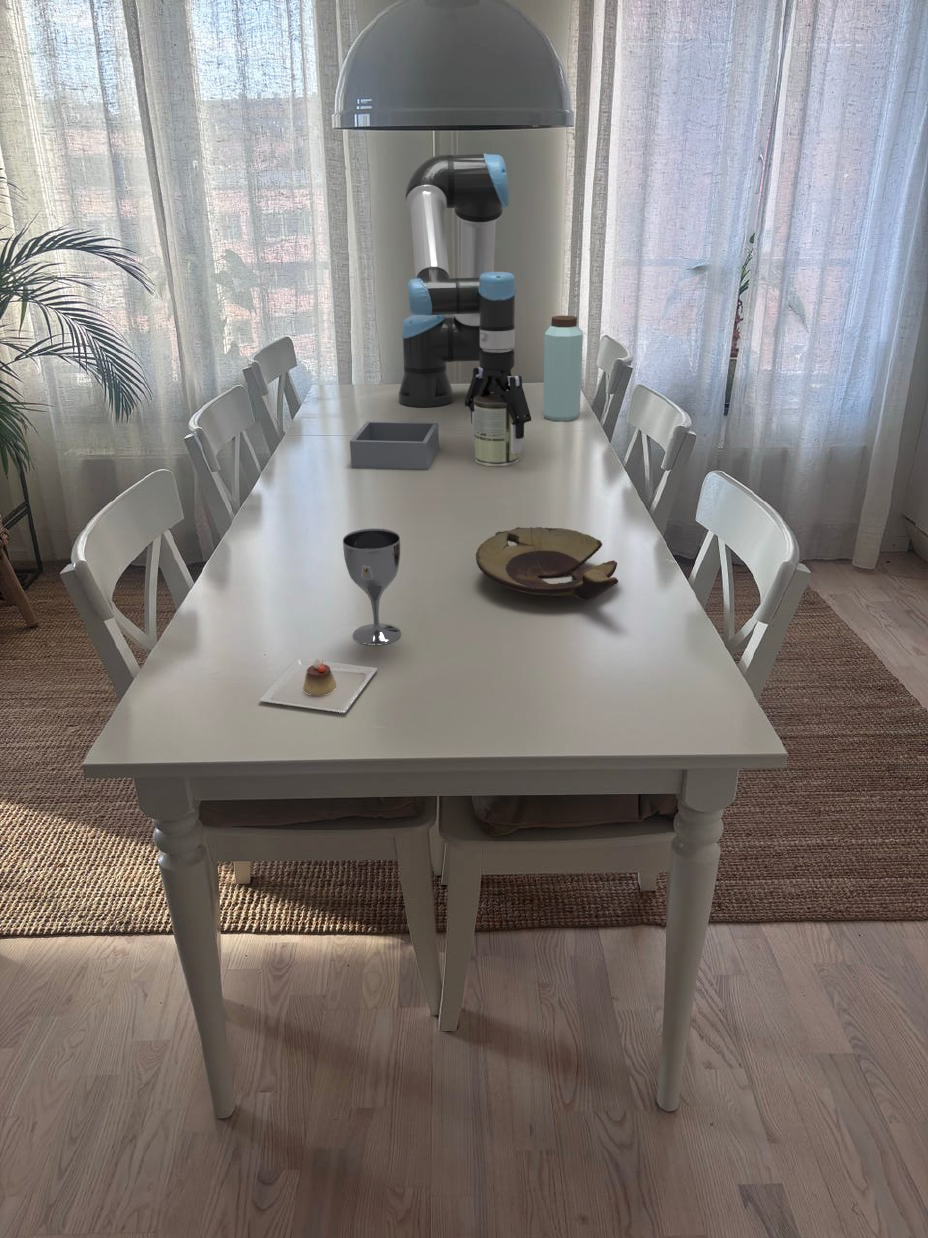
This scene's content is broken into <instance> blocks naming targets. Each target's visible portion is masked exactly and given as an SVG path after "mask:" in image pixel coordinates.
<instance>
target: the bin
mask: <svg viewBox="0 0 928 1238" xmlns="http://www.w3.org/2000/svg"><path fill="white" fill-rule="evenodd" d="M439 434H440V433H439V422H422V421H421V422H420V421H419V422H418V421H415V422H414V421H371V420H370V421H369V420H366V421H365V422H364V423H363V425H362V426H361V428H360V429H358V431H357V432H356V433H355V435H354V436H353V437H352V438H351V439H350V440H349V451H350V463H351V465H350V466H351V469H380V470H381V469H385V470H387V469H388V470H420V471H422V470H424V471H425V470H428V469H429V467H430V465H431V463H432V462H433V460H434V458H435V456H436V455H437V452H438V450H440V449H439V448H440V440H439V439H440V438H439V437H440V435H439Z"/></svg>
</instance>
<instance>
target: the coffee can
mask: <svg viewBox="0 0 928 1238" xmlns="http://www.w3.org/2000/svg"><path fill="white" fill-rule="evenodd" d="M473 401H474V430H475V441H474V461H475V463H476V464H479V465H481V466H486V467H496V466H498V467H507V466H508V465H509V466H512V464H513V465H516V464H517V463H519V462H520V460H521V458H520V452H518V453H514V454H512V453H511V424H512V423H513V420H512V417H511V415H510V413H509V411H508V409H507V403H504V400H503V398H501V397H500V396H499V394H495V393H494V392H491V393H490V394H489V395H486V396H480V395H478V396H475V397H474V398H473ZM517 418H518V416H517Z"/></svg>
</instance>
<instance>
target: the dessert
mask: <svg viewBox="0 0 928 1238" xmlns="http://www.w3.org/2000/svg"><path fill="white" fill-rule="evenodd" d="M301 665H305V666H310V667H307V669H306V672H305V678H304V682H303V686H302V690H303V689H304V691H305V692H306V693H308V694H311V695H317V696H316V697H321V696H320V695H324V696H326V695H325V694H328V693H330V692H332V691H333V690H334V689H335V688H336V684H337V681H336V680H335V677H334V674H333V671H332V670H331V669H330V668H332V669H333V668H337V669H340V668H342V669H349V670H351V669H352V670H354V669H357V670H360V669H362V670H365V671H368V670H370V671H372V672H371V673H370V674H369V675H368V676H367V679H366V680H365V682H363V684H362V685H361V686H360V687H359V689H358V690H357V691H356V692H355V693H354V695H353V696H352V697H351V698H350V699H349V698H348V699H349V701H348V702H347V703H346V702H345V703H346V704H345V703H344V704H345V706H344V707H343V706H342V707H343V708H344V709H343V710H340V709H335V710H334V708H326V707H319V706H312V705H305V704H298V703H292V702H290V703H289V702H285V703H284V702H283V701H276V700H273V701H271V700H270V698H271V697H272V695H273V694H274V693H275V690H276V691H277V690H278V687H279V686H281V683H283V682H284V681H283V680H285V679H286V678H289V677H290V675H292V674H293V672H295V670H296V669H297V668H298V667H299V666H301ZM377 670H378V667H371V666H366V665H365V666H364V665H357V664H348V663H340V662H332V661H326V660H323V659H321V658H316V659H310V658H308V659H307V658H301V657H296V658H295V659H294V661H292V663H291V664H290V665H289V666H288V667H287V668H286V669H285V671H283V672H282V674H281V675H279V676H278V678H277V679H276V680H275V681H274V683H272V685H271V686H270V687H268V689H267V690H266V692H265V693H264V694H263V695H262V696H260V698H259V699H258V702H260V703H261V702H262V703H267V702H268V703H269V704H274V703H275V704H276V705H281V704H282V705H283V706H290V707H297V708H302V709H303V708H305V709H310V710H311V709H312V710H316V711H317V710H319V711H324V710H325V711H326V712H331V711H332V713H338V712H339V714H346V713H347V711H348V710H349V709H350V708H351V706H352V704H354V702H355V701H356V699H357V698H358V696H359V695H360V693H362V691H363V689H364V688H365V687H366V685H367V684H368V682H369V681H370V680H371V678H373V676H374V675H375V673H376V672H377ZM304 691H303V692H304ZM305 692H304V693H305ZM306 693H305V694H306ZM308 694H307V695H308ZM311 695H310V696H311ZM328 695H329V694H328ZM275 704H274V705H275ZM282 705H281V706H282Z"/></svg>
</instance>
